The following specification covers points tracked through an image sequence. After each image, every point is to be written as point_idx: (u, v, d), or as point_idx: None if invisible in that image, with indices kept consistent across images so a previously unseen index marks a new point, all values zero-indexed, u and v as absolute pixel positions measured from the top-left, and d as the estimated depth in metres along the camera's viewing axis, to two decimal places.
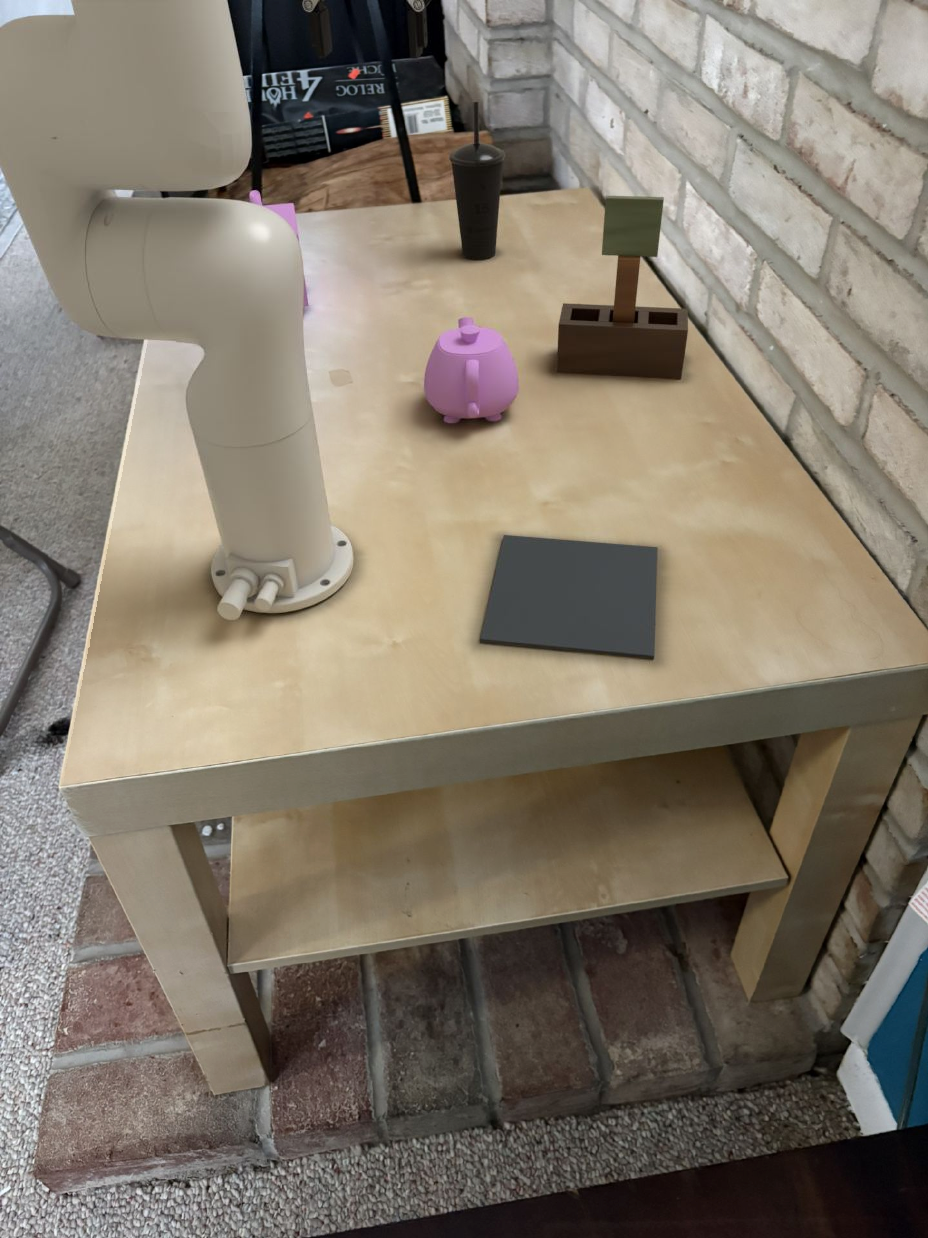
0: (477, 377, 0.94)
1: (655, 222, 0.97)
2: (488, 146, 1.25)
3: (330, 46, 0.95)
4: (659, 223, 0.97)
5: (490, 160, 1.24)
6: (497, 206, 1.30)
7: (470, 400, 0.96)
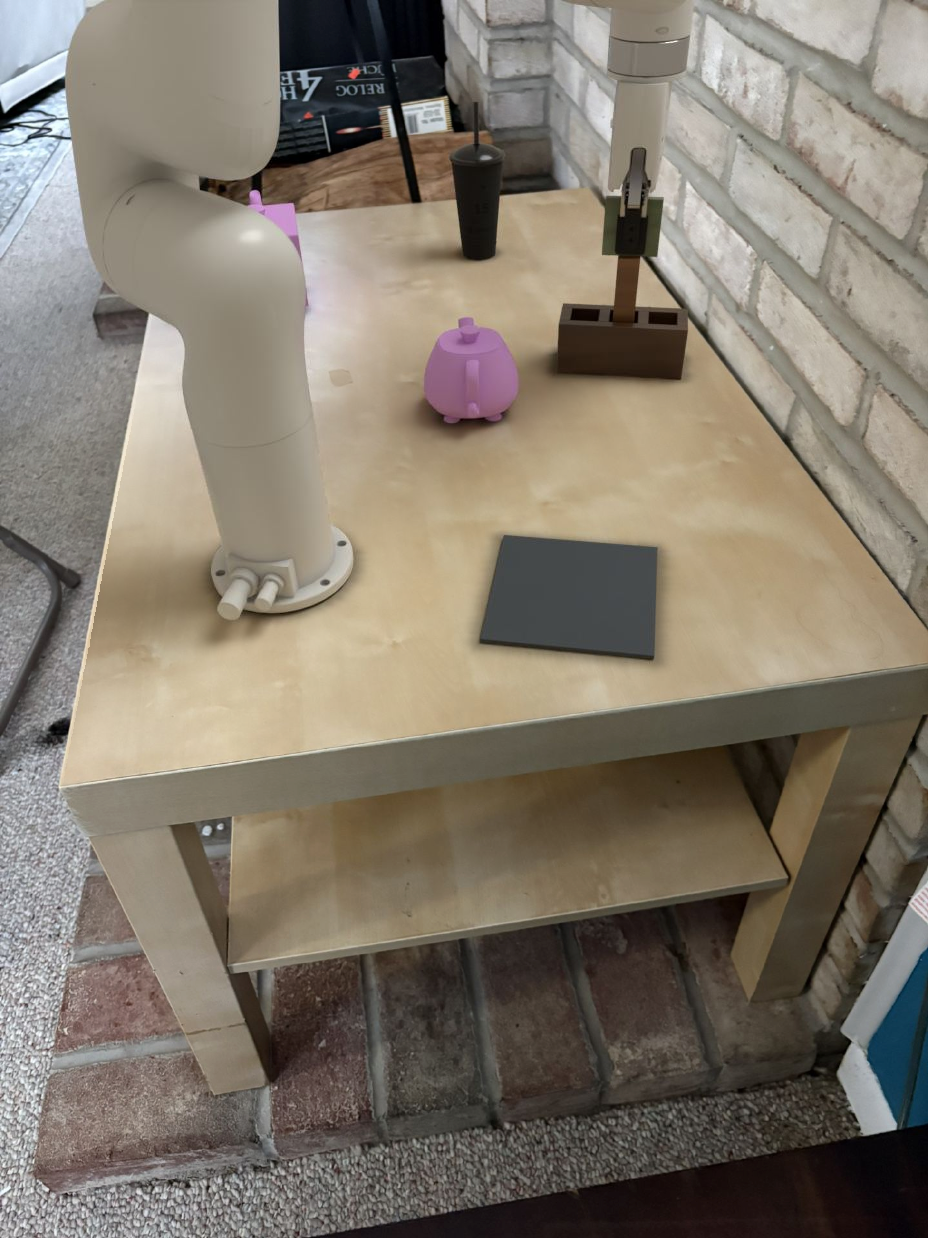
0: (477, 377, 0.94)
1: (655, 222, 0.97)
2: (488, 146, 1.25)
3: None
4: (659, 223, 0.97)
5: (490, 160, 1.24)
6: (497, 206, 1.30)
7: (470, 399, 0.96)
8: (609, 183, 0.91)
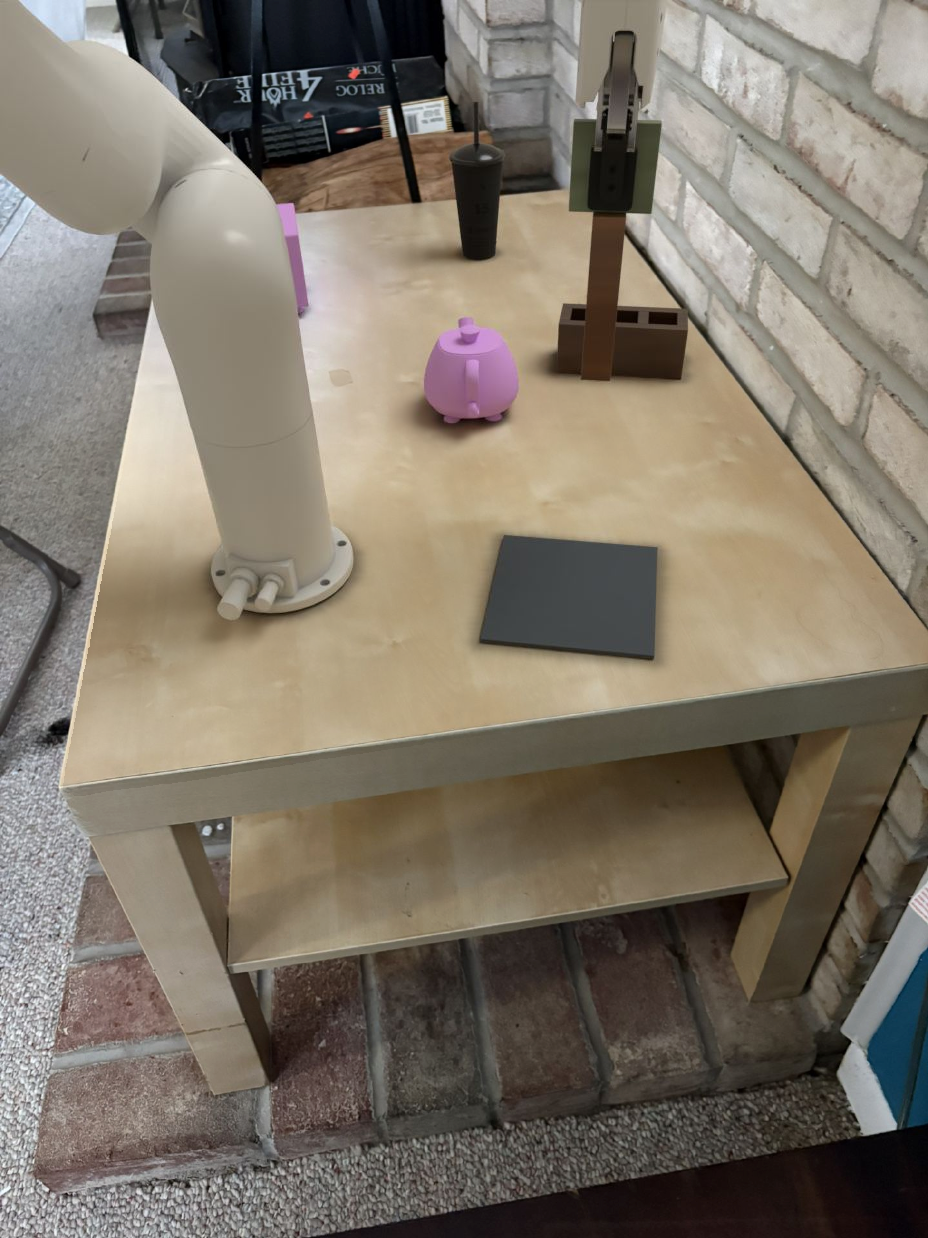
0: (477, 377, 0.94)
1: (648, 160, 0.64)
2: (488, 146, 1.25)
3: None
4: (655, 161, 0.64)
5: (490, 160, 1.24)
6: (497, 206, 1.30)
7: (470, 399, 0.96)
8: (578, 92, 0.58)
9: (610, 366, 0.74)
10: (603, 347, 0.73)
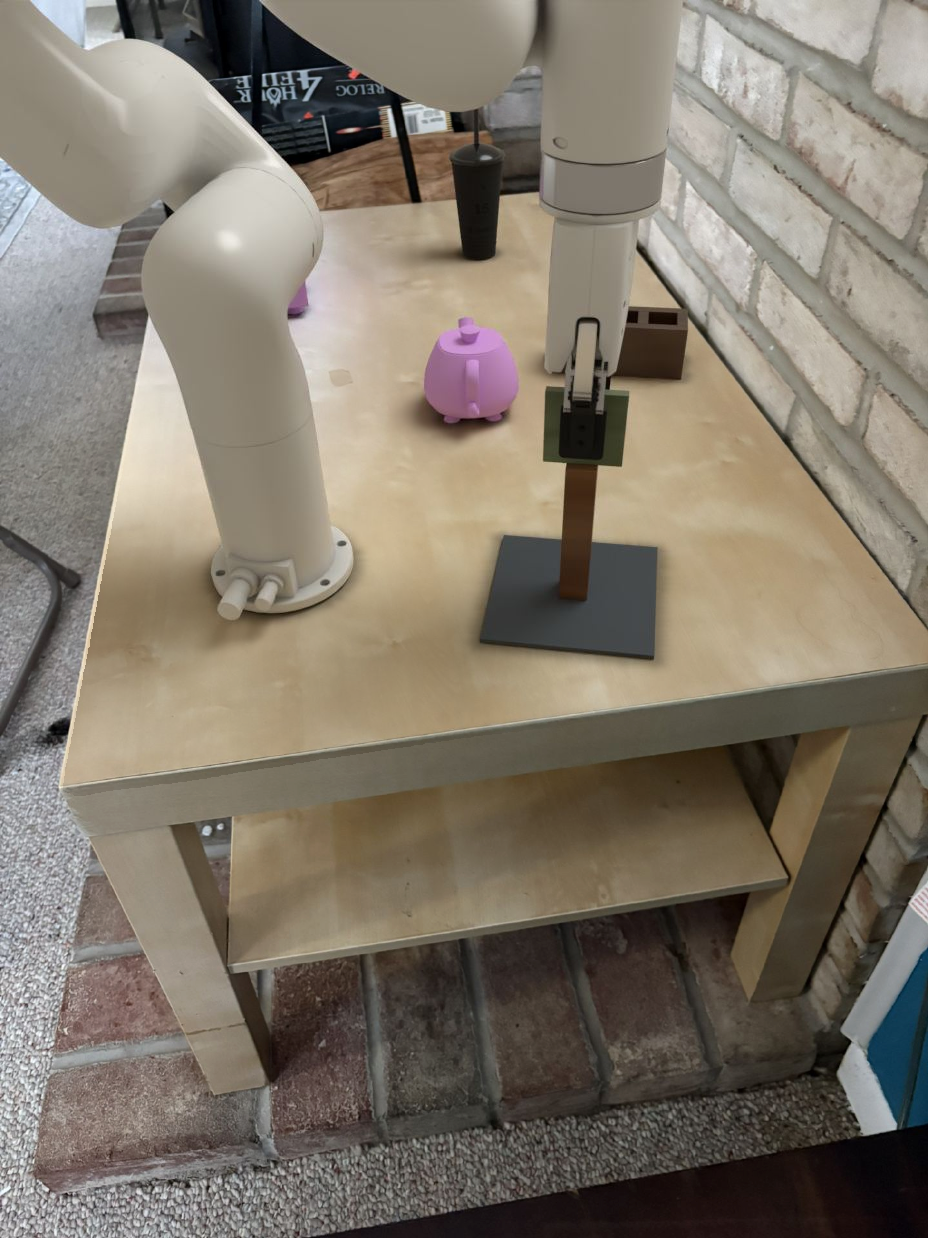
0: (477, 377, 0.94)
1: (617, 424, 0.67)
2: (488, 146, 1.25)
3: None
4: (623, 426, 0.67)
5: (490, 160, 1.24)
6: (497, 206, 1.30)
7: (470, 399, 0.96)
8: (545, 363, 0.60)
9: (586, 589, 0.77)
10: (579, 573, 0.76)
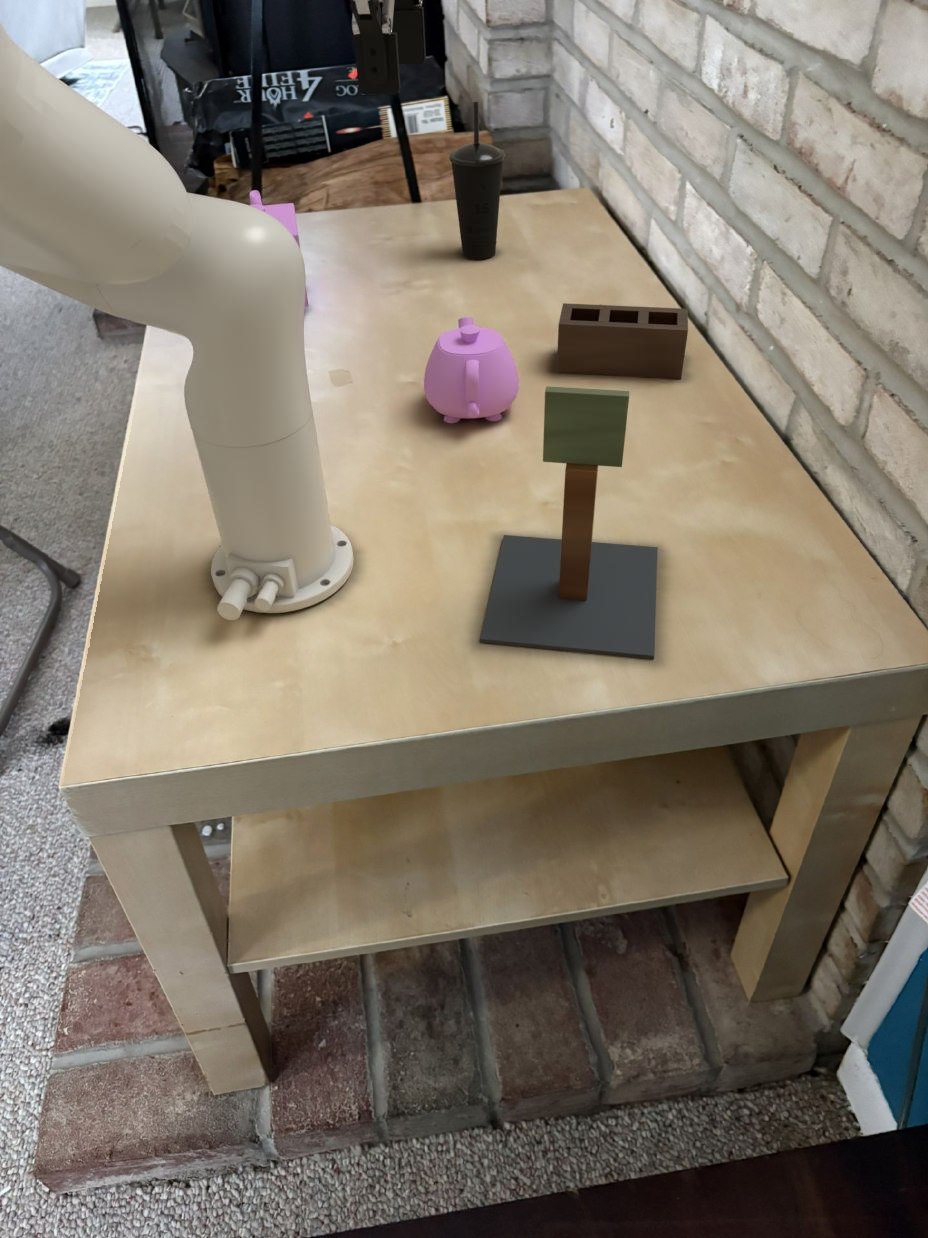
0: (477, 377, 0.94)
1: (617, 424, 0.67)
2: (488, 146, 1.25)
3: (415, 56, 0.77)
4: (623, 426, 0.67)
5: (490, 160, 1.24)
6: (497, 206, 1.30)
7: (470, 400, 0.96)
8: None
9: (586, 589, 0.77)
10: (579, 574, 0.76)
